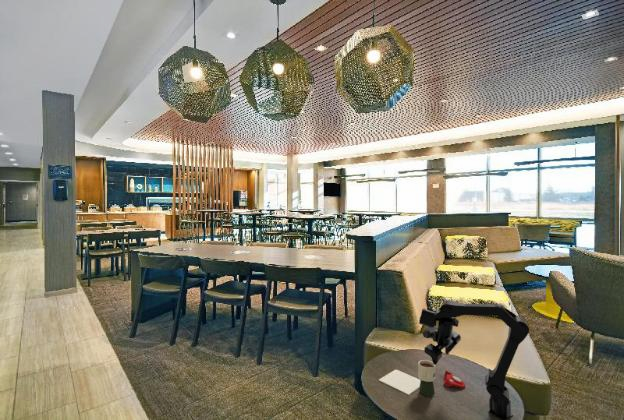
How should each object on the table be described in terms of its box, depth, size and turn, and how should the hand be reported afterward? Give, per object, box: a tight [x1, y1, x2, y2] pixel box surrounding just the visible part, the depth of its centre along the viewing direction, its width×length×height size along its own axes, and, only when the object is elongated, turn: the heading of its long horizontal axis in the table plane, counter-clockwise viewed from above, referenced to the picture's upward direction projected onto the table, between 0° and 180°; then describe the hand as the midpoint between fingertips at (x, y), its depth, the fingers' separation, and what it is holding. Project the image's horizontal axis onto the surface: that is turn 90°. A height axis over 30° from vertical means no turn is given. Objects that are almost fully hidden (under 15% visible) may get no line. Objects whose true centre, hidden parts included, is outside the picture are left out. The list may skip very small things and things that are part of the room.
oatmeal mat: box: [378, 369, 421, 396], centre depth 151 cm, size 16×14×1 cm
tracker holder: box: [443, 369, 466, 389], centre depth 150 cm, size 12×4×10 cm
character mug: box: [417, 359, 436, 397], centre depth 141 cm, size 11×7×13 cm, turn 170°
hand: (440, 358), depth 142 cm, fingers open, 9 cm apart
